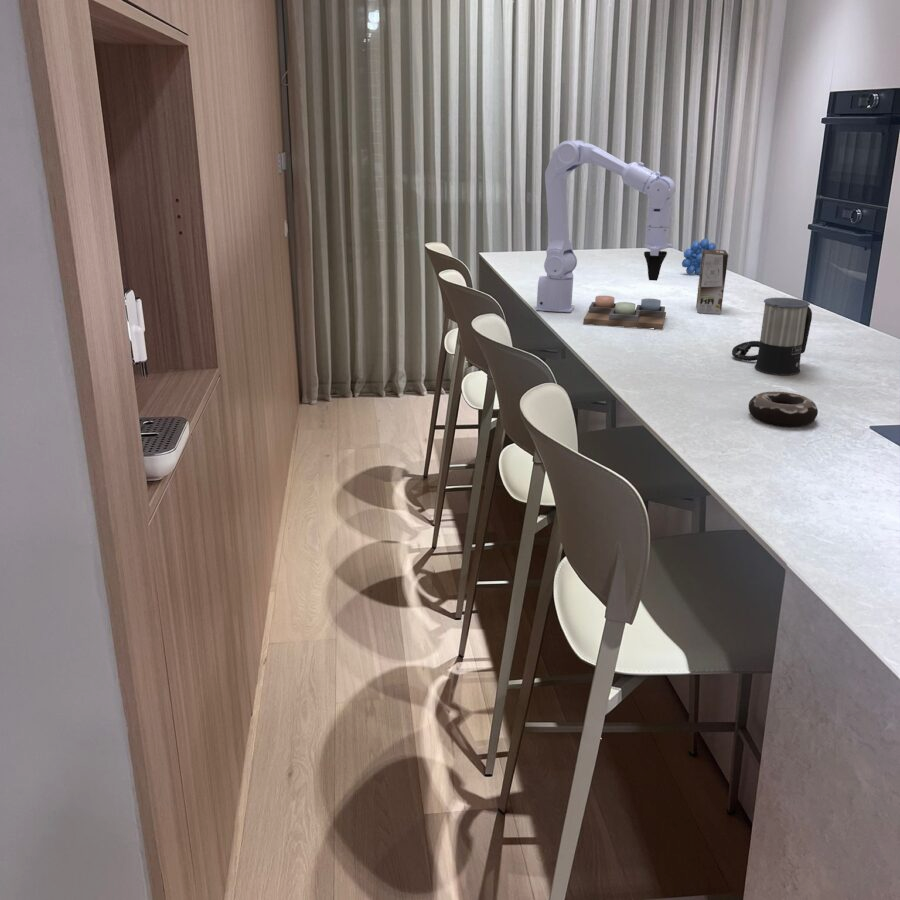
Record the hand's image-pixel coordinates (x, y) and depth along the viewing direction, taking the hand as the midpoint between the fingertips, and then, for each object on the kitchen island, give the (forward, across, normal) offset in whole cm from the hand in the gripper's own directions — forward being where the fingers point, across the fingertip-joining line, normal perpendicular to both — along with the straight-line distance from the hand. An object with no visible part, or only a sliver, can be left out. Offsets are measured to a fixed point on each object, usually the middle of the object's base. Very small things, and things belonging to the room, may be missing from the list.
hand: (653, 280), depth 231 cm
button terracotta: (+8, 0, +12) cm, 14 cm away
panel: (+10, -4, +6) cm, 13 cm away
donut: (+11, -75, -28) cm, 81 cm away
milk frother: (+11, -38, -27) cm, 48 cm away
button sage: (+8, -7, +6) cm, 12 cm away
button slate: (+8, 0, 0) cm, 8 cm away
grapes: (+11, +76, -11) cm, 77 cm away
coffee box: (+11, +17, -15) cm, 25 cm away
